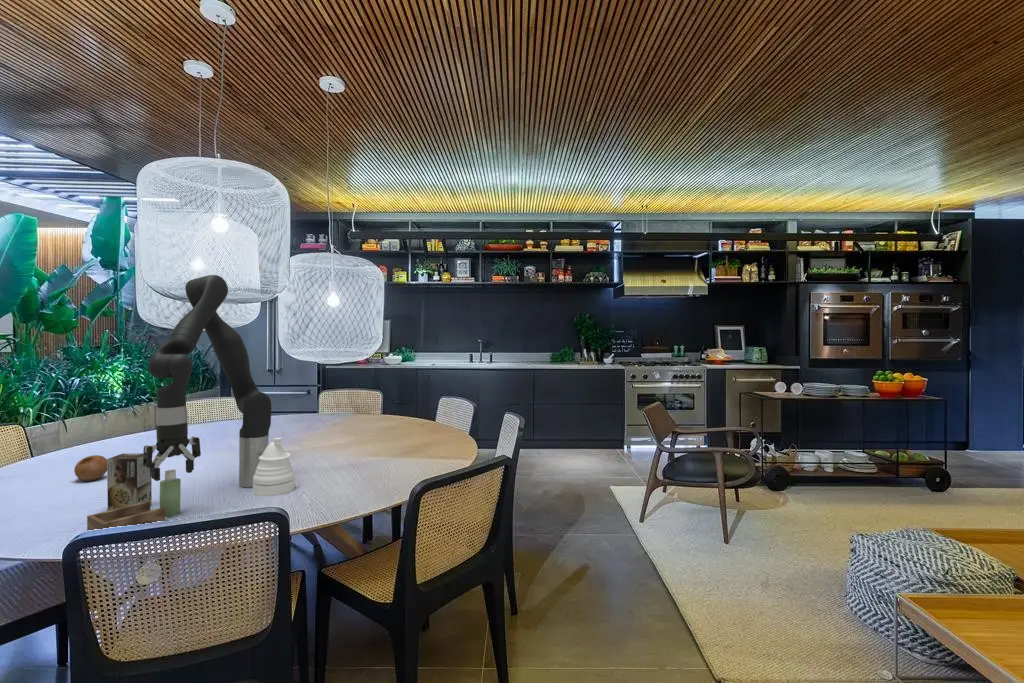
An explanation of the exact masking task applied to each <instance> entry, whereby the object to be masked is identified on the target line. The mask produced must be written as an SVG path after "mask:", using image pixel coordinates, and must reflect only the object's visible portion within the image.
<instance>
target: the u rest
mask: <svg viewBox="0 0 1024 683" xmlns="http://www.w3.org/2000/svg"><path fill="white" fill-rule="evenodd" d="M86 517H87V518H86V519H87V520H86V523H87V524H86V526H87V528H86V531H87V530H94V529H103V528H109V527H117V526H127V525H137V524H145V523H152V522H157V521H165V522H166V518H165V508H164V507H162V508H160V507H159V508H155V509H151V505H150V502H149V501H146V502H142V503H138V504H134V505H130V506H126V507H121V508H117V509H113V510H109V511H108V510H107V511H106V510H105V511H102V512H98V513H94V514H90V515H87V516H86Z"/></svg>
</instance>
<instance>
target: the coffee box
mask: <svg viewBox="0 0 1024 683" xmlns="http://www.w3.org/2000/svg"><path fill="white" fill-rule="evenodd" d="M106 459H107V472H106V476H107V478H106V480H107V484H106V485H107V511H109V510H113V509H117V508H121V507H126V506H130V505H134V504H138V503H142V502H146V501H149V502H150V506H152V505H153V504H152V502H153V501H152V499H153V498H152V491H153V490H152V488H153V487H152V475H151V468H148V467H144V466H143V453H120V454H117V455H114V456H111V457H109V458H106Z"/></svg>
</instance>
